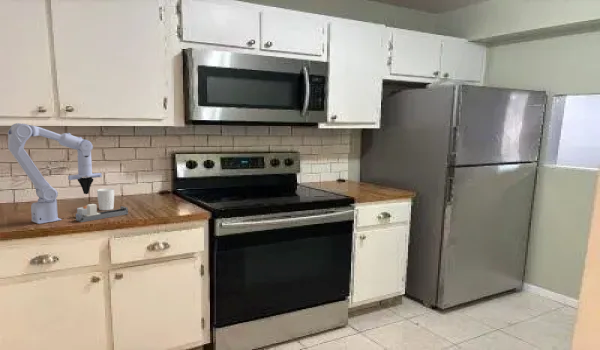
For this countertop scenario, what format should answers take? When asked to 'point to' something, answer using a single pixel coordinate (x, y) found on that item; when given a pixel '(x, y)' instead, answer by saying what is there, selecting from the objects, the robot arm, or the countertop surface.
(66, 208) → the countertop surface
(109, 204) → the white cup
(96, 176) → the robot arm
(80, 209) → the white hollow block
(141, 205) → the countertop surface
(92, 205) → the carriage
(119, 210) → the rail
